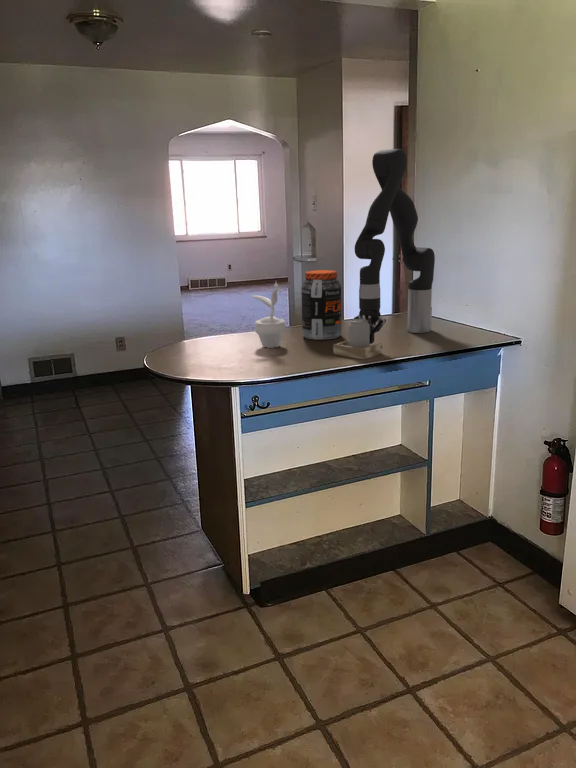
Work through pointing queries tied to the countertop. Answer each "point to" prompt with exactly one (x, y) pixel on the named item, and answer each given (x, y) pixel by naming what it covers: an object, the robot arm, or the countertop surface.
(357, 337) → the can
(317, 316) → the supplement tub
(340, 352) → the tray
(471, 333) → the countertop surface
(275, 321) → the potted plant
